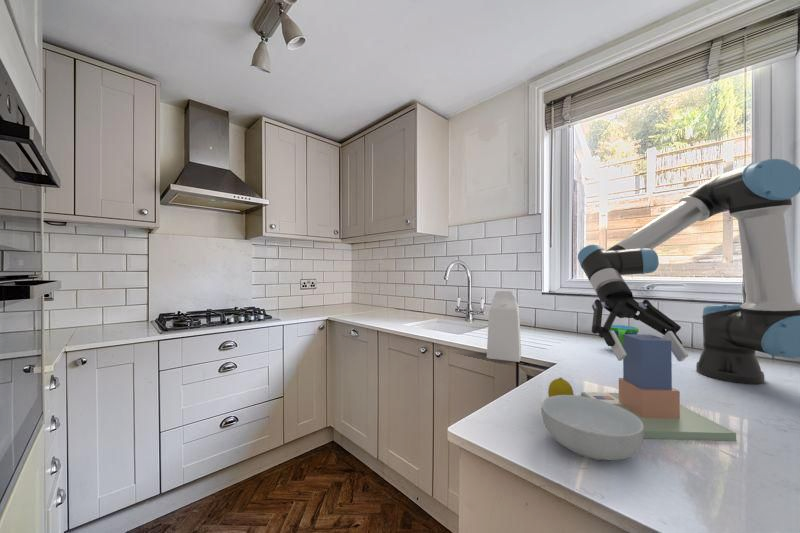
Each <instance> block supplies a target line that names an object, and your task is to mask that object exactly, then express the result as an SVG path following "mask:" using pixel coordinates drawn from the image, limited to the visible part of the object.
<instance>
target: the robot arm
mask: <svg viewBox="0 0 800 533" xmlns="http://www.w3.org/2000/svg"><path fill="white" fill-rule="evenodd" d="M799 193H800V168H799V167H798V166H797V165H796V164H794V163H791V162H790V161H788V160H785V159H781V158H769V159H765V160H760V161H757V162H756V161H755V162H751V163H750V164H748V165H745V166H742V167H739V168H736V169H733V170H730V171H728V172H727V171H726V172H724V173H720V174H718V175H716V176H714V177H712V178H711V179H709V180H707V181H706V182H704V183H703V184H701V185H699V186H698V187H696V188H695V189H694V190H692V191H691V192H689V193H688V194H686V195H684V196H683V197H681V198H680V199H679V201H678V204H676V205H675V206H673V207H672V208H670V209H669V210H667V211H665V212H664V213H663V214H661V215H659V216H658V217H657V218H655V219H653V220H652V221H649V223H647V224H646V225H644V226H642V227H641V228H640V229H638V230H636V231H634V232H633V233H631V234H630V235H629V236H627V237H625V238H624V239H622V240H620V241H619V242H617V243H616V244H615V245H613V246H611V247H609V248H608V249H607V250H605V249H604V248H603V247H602V246H601V245H598V244H588V245H585V247H582V248H581V250H579V252H578V254H577V259H578V263H579V265H580V267H581V269H582V270H583V272H584V274H585V276H586V278H587V279H588V281H589V282H590V285H591V286H592V288H593V290H594V292H595V294H596V295H597V297H598V298H596V299H595V301H594V302H593V303H592V305H591V308H592V310H593V316H592V323H591V324H592V325H591V333H592V334H595V335H596V334H598V337H600V338H602V339H604V342H605V343H606V345H607V346H608V347H610V348H611V350H612V351H613V354H614V355H615V357H616V359H617V361H620V362H621V361H622V362H623V358H624V357H625V356H626V355H627V354H626V352H625V350H624V348H623V347H622V345H621V343H620V341H619V339H618V337H617V335H616V334H615V332H614V331H610V332H609V330H610V328H611V326H612V325H614V324H613V323H614V322H615V320H616V318H619V319H624V318H625V319H626V318H627V319H633V320H636V321H640V322H641V323H643V324H645V325H647V327H650V328H652V329H653V330H655V331H656V332H659V333H660V334H661V335H662V338H664V339H668V340H671V353H672V354H673V356H674V357H675V358H676V360H677V361H678V362H683V361H685V359H686V358H687V357H689V356H690V355H689V353H688V352H687V351H686V349H685V347H684V346H683V342H682V340H681V339H680V337H679V336H678V334H677V333H678V332H679V331H680V330H681V329H682V326H680V325H679V324H678V323H677V322H675V321H674V320H672V318H670V317H669V316H667V315H665V314H664V313H663V312H662V311H660V310H659V309H657V307H655V306H653V304H652V303H651V302H650V301H649V300H648V299H643V301H636V299H635V298H634V296H633V295H634V294H633V291H632V290H631V289H630V287H629V286H628V284H627V283H626V281H625V279H624V278H623V276H629V275H630V276H631V275H646V274H651V273H655V271H657V269H658V267H659V264H660V262H659V256H658V253H657V252H656V251H655V248H656V247H659V246H660V245H661V244H663V243H665V242H666V241H668V240H669V239H671V238H673V237H674V236H675V235H677V234H679V233H680V232H683V231H684V230H686V229H687V228H688V227H690V226H692V225H693V224H695V223H698V222H703V221H706V220H707V219H709V218H711V217H714V216H715V215H717V214H721V213H724V212H729V215H730V217H733V218H735V219H736V220H737V224H738V233H739V234H738V235H739V241H740V252H741V259H742V260H741V261H742V269H743V277H744V285H745V286H744V287H745V294H746V295H745V297H746V301H745V302H743V304H708V305H705V306H704V307H703V311H702V316H701V318H702V343H703V344H702V345H703V347H702V351H701V354H700V355H699V359H698V361H697V362H696V366H695V367H696V370H695V371H696V372H697V373H699V374H701V375H703V376H705V377H706V376H707V377H710V378H713V379H718V380H721V381H726V382H732V383H739V384H750V385H752V384H753V385H756V384H757V385H759V384H760V385H761V384H763V383H765V374H764V372H763V371H762V369H761V366H760V363H759V361H758V359H757V355H756V352H759V353H764V354H765V355H766V354H767V355H769V356H772V357H780V358H785V359H794V360H795V359H800V304H799V303H797V302H796V300H795V296H794V295H795V294H794V290H793V288H794V287H793V280H792V272H791V270H792V269H791V263H790V261H791V260H790V253H789V246H788V237H787V228H786V220H785V219H786V218H785V214H786V212H787V211H788V210H789V209H790V210H791V208H792V207H793V204H792V199H793V198H794V197H796V196H797V195H798V194H799ZM604 309H605V310H606V311H608V312H609V314H608V316H607V318H606V320H605V323H604V324H603V326H602V320H603V310H604ZM638 312H639V313H638Z"/></svg>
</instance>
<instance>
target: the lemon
mask: <svg viewBox="0 0 800 533" xmlns="http://www.w3.org/2000/svg"><path fill="white" fill-rule="evenodd" d="M556 395H575V392H574V390H573V387H572V385H571V384H570V382H568V381H567V380H565V379H564V378H563V377H558V378H555V379H553V380H552V381H551V382H550V383H549V385H548V397H551V396H556Z"/></svg>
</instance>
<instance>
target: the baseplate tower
mask: <svg viewBox="0 0 800 533" xmlns="http://www.w3.org/2000/svg"><path fill="white" fill-rule="evenodd" d="M580 394H581V395H580V396H583V397H589V398H593V399H598V400H601V401H605V402H608V403H611V404H614V405H616V406H619V407H621V408H623V409H625V410H627V411H629V412H631V413H632V414H634V415H635V416H637V417H638V418H639V419H640V420H641V421H642V423H643V426H644V435H643V439H656V440H657V439H659V440H696V441H698V440H699V441H701V440H702V441H703V440H704V441H733V442H734V441H737V432H735V431H733V430H731V429H729V428H727V427H726V426H723V425H721V424H719V423H718V422H715V421H713V420H712V419H710V418H708V417H705V416H703V415H701V414H699V413H697V412H696V411H693V410H691V409H689V408H688V407H685V406H684V405H682V404H681V403H680V402H681V401H680V398H681V397H680V395H681V394H680V390H679V389H678V390H677V389H676V388H674V387H672V390H666V389H641V388H639V387H637V386H636V385H634V384H632V383H630V382H628V381H626V380H624V379H623V377H619V378H618V392H589V391H585V392H584V391H582V392H580Z"/></svg>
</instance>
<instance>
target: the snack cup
mask: <svg viewBox="0 0 800 533" xmlns="http://www.w3.org/2000/svg"><path fill="white" fill-rule="evenodd" d="M610 331H614V332H615V334H616V335H617V337H618V339H619V341H620V343H621V345H622V347H623V334H638V333H639V328H638V327H637V326H631V325H621V324H612V326H611V328H610V330H609V332H610Z"/></svg>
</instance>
